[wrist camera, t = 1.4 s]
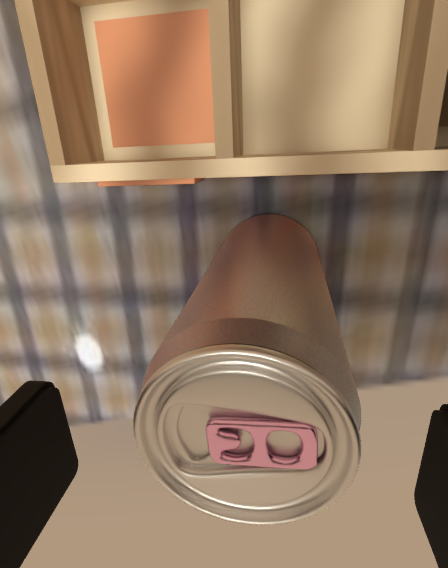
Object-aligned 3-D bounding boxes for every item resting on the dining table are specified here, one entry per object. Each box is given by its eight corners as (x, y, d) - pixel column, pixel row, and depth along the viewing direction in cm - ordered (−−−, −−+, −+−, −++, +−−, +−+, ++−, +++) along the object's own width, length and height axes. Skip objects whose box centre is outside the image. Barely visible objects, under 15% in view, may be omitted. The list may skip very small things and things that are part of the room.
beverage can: (317, 300, 23) (364, 543, 9) (227, 302, 24) (147, 520, 10) (317, 208, 21) (379, 343, 7) (218, 215, 22) (101, 342, 8)
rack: (641, -77, 14) (808, -179, 10) (568, 163, 18) (665, 171, 13) (73, -4, 19) (3, -51, 14) (103, 179, 22) (55, 188, 17)
